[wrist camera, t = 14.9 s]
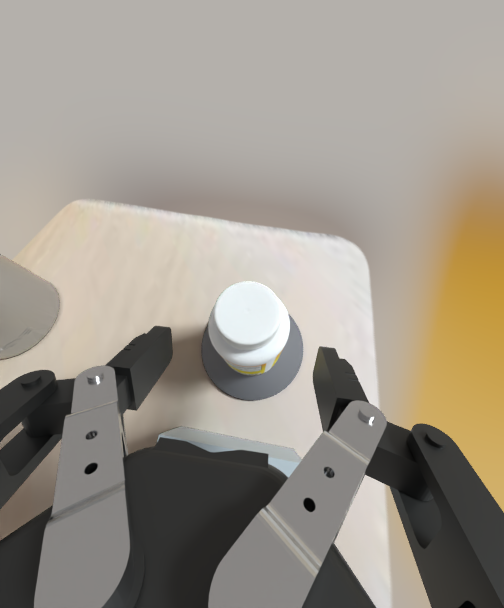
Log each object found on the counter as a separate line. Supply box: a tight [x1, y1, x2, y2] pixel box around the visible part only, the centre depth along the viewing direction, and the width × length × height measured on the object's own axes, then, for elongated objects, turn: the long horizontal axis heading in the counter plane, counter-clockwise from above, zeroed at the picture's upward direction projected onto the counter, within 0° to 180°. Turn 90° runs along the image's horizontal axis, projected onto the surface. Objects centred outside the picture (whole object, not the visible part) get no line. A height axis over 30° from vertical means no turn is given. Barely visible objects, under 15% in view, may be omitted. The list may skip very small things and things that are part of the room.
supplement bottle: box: [208, 281, 290, 376], centre depth 18 cm, size 6×6×10 cm
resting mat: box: [202, 314, 303, 400], centre depth 23 cm, size 10×10×1 cm
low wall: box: [157, 426, 302, 477], centre depth 18 cm, size 10×2×5 cm, turn 80°
